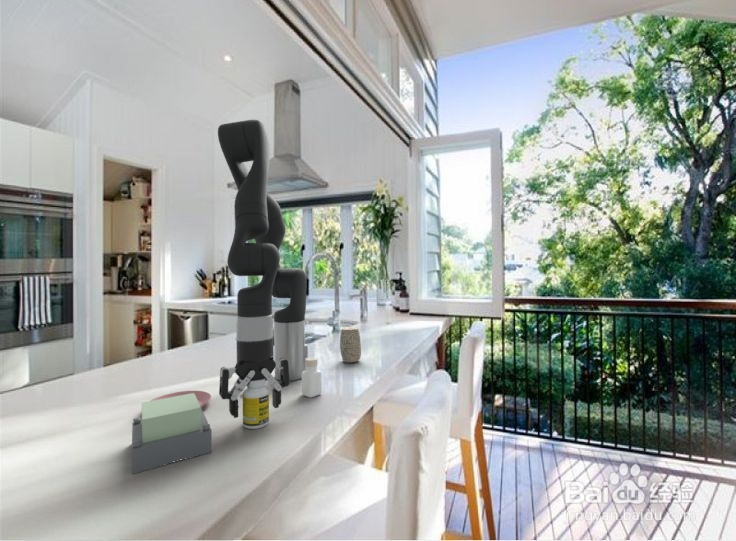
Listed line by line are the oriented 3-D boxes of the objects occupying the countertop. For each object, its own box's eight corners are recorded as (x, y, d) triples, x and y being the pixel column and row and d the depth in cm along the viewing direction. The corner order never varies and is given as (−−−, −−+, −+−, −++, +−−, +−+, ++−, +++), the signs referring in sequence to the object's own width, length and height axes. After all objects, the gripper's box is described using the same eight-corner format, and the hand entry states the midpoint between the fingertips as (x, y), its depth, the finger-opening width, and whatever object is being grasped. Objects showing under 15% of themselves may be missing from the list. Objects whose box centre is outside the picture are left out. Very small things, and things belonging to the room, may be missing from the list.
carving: (339, 359, 126) (339, 326, 126) (360, 358, 127) (360, 326, 127) (340, 364, 120) (339, 329, 120) (361, 363, 121) (361, 329, 121)
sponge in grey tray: (201, 427, 73) (201, 389, 73) (211, 452, 63) (211, 408, 63) (132, 443, 67) (132, 401, 67) (132, 474, 57) (131, 425, 57)
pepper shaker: (300, 395, 91) (300, 358, 91) (313, 391, 94) (312, 356, 94) (310, 398, 89) (310, 361, 89) (322, 394, 92) (322, 358, 92)
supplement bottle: (261, 430, 71) (261, 383, 71) (237, 428, 73) (237, 381, 72) (273, 419, 77) (273, 375, 77) (251, 417, 78) (250, 374, 78)
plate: (167, 398, 91) (167, 390, 91) (221, 398, 90) (221, 390, 90) (127, 422, 76) (127, 413, 76) (191, 422, 76) (191, 413, 76)
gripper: (281, 330, 82) (282, 399, 82) (216, 337, 74) (217, 413, 74) (293, 335, 75) (294, 409, 75) (223, 343, 67) (224, 427, 68)
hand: (256, 411), depth 75 cm, fingers open, 8 cm apart
